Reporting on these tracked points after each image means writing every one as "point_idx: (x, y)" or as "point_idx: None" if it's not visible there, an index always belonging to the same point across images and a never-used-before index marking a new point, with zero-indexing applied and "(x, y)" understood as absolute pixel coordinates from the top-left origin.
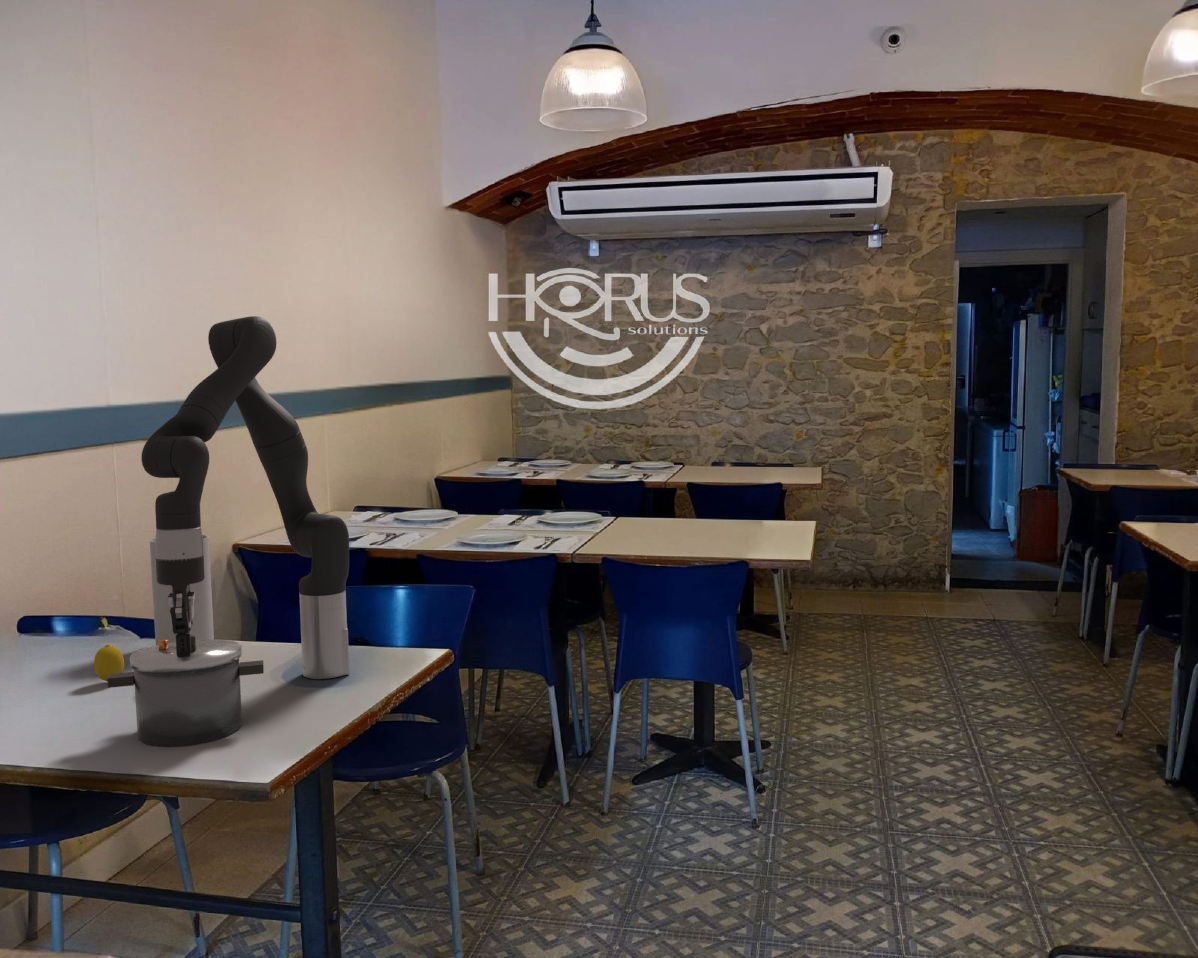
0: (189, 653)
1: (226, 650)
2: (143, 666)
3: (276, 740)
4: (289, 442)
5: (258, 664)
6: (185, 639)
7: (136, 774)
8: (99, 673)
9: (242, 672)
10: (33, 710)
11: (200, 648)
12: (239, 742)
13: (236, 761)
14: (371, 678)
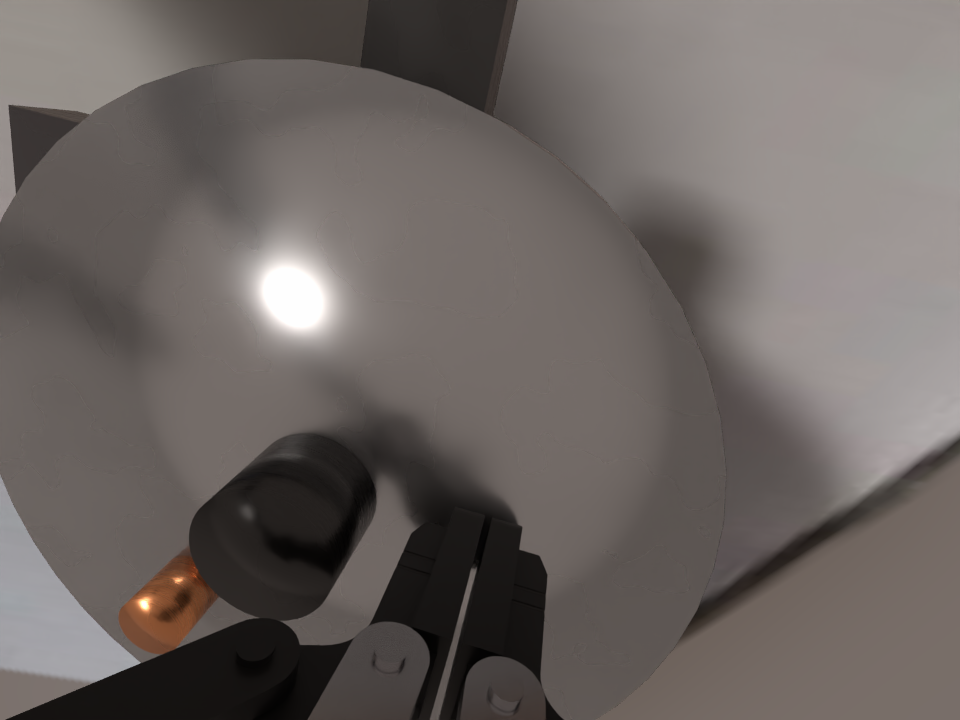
0: (519, 536)
1: (480, 239)
2: None
3: (801, 35)
4: None
5: None
6: (537, 664)
7: (795, 543)
8: None
9: (491, 109)
10: (56, 636)
11: (281, 396)
12: (711, 193)
13: (936, 252)
14: None
